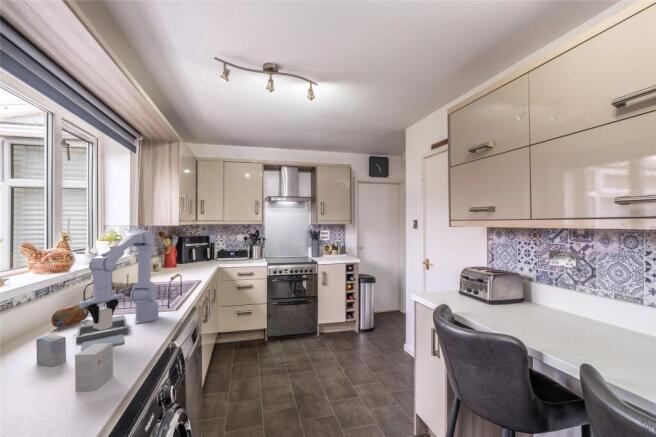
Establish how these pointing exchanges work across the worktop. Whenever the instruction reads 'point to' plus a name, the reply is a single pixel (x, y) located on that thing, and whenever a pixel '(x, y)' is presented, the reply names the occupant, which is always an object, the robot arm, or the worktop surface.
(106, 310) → the block
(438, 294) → the worktop surface
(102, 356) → the small box
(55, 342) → the medicine box
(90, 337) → the grey open frame tray
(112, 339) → the mat
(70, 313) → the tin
